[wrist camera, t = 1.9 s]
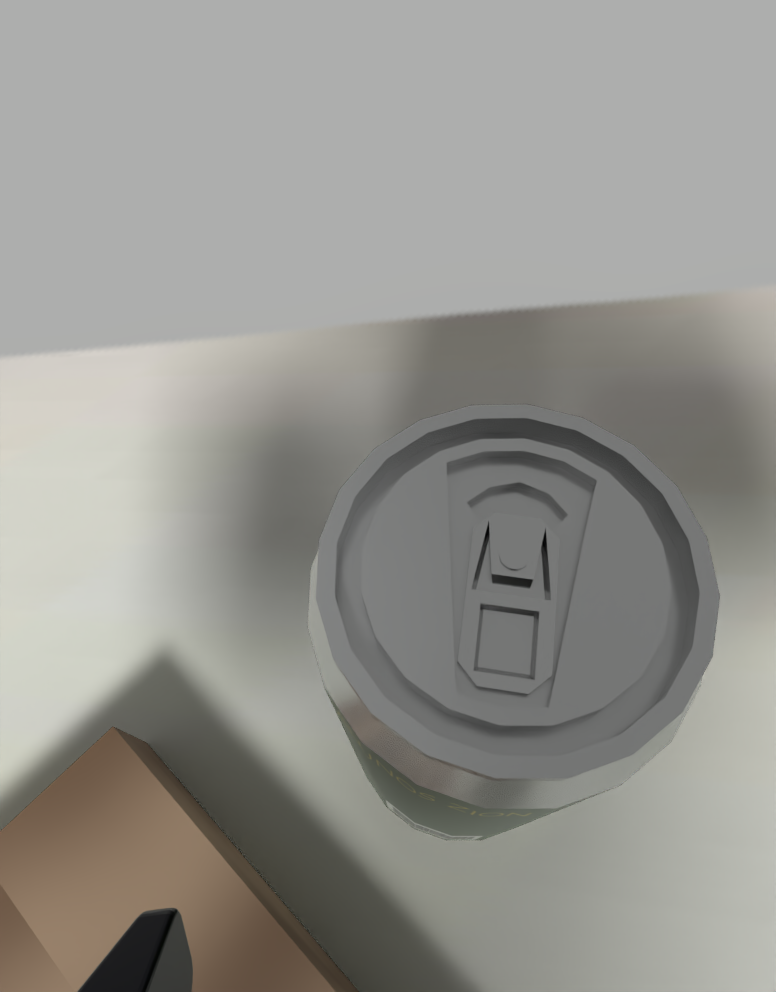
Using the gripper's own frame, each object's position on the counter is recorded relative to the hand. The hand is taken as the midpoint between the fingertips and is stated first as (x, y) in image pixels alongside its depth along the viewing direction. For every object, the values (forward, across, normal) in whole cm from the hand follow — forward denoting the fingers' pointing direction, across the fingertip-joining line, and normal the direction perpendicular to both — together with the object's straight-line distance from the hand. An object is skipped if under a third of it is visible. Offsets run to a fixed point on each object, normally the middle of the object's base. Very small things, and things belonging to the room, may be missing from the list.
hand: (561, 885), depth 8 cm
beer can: (+10, 0, +5) cm, 11 cm away
